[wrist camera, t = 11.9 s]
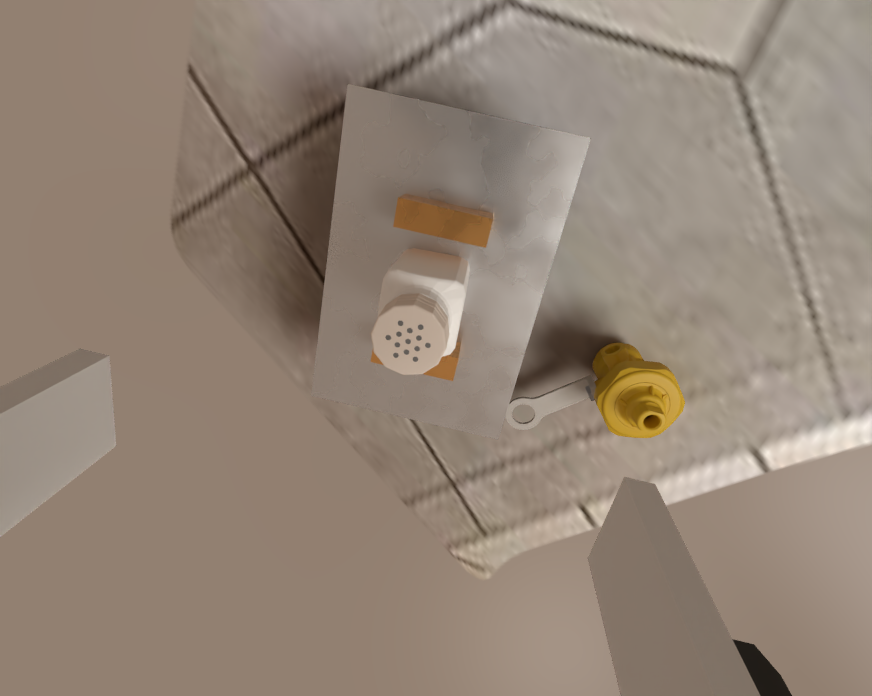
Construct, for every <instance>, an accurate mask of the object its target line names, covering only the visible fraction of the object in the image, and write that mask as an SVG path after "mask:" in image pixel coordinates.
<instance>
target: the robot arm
mask: <svg viewBox="0 0 872 696" xmlns="http://www.w3.org/2000/svg"><path fill="white" fill-rule="evenodd" d="M115 446H116V438H115V425H114V411H113V398H112V384H111V371H110V358H109V355H104V354H100V353H96V352H92V351H87V350H83V349H79V350H76V351H74V352H72V353H70V354H68V355H66V356H64V357H62V358H60V359H57V360H55V361H53V362H51V363H49V364H47V365H45V366H43V367H41V368H39V369H37V370H34V371H32V372H30V373H28V374H26V375H24V376H22V377H20V378H18V379H16V380H14V381H11V382H9V383H7V384H5V385H3V386H1V387H0V537H1V536H2V535H3V534H5V533H6V532H7V531H8V530H10V529H11V528H12V527H13V526H15V525H16V524H17V523H18V522H20V521H21V520H22V519H23V518H25V517H26V516H27V515H29V514H30V513H31V512H33V511H34V510H35V509H36V508H37V507H39V506H40V505H41V504H43V503H44V502H45V501H47V500H48V499H49V498H50V497H51V496H53V495H54V494H55V493H57V492H58V491H59V490H60V489H62V488H63V487H64V486H65V485H67V484H68V483H69V482H71V481H72V480H73V479H74V478H76V477H77V476H78V475H80V474H81V473H82V472H83V471H85V470H86V469H87V468H89V467H90V466H91V465H92V464H94V463H95V462H96V461H97V460H99V459H100V458H101V457H102V456H104V455H105V454H106V453H108V452H109V451H110V450H111V449H113V448H114V447H115ZM588 562H589V566H590V570H591V574H592V578H593V582H594V587H595V591H596V595H597V599H598V603H599V607H600V611H601V616H602V620H603V624H604V628H605V632H606V636H607V640H608V644H609V649H610V653H611V657H612V661H613V665H614V669H615V673H616V678H617V682H618V686H619V690H620V694H621V696H792V695H791V693H790V691H789V690H788V688H787V686H786V684H785V682H784V681H783V679H782V677H781V675H780V674H779V673H778V672H777V671H776V669H774V667H773V666H772V665H771V664H770V662H769V661H768V660H767V659H766V658H765V657H764V656H763V655H762V653H761V652H760V651H759V650H758V649H757V647H756V646H755V645H754V644H749V643H745V642H741V641H737V640H733V639H732V638H731V636H730V634H729V632H728V630H727V628H726V626H725V624H724V622H723V620H722V618H721V616H720V614H719V612H718V609H717V607H716V606H715V604H714V602H713V599H712V597H711V595H710V594H709V592H708V589H707V587H706V585H705V584H704V582H703V580H702V577H701V575H700V574H699V571H698V569H697V567H696V565H695V563H694V561H693V559H692V557H691V555H690V553H689V551H688V549H687V547H686V545H685V543H684V541H683V540H682V537H681V535H680V533H679V531H678V529H677V527H676V525H675V523H674V521H673V519H672V517H671V515H670V513H669V511H668V509H667V507H666V505H665V503H664V501H663V499H662V497H661V495H660V493H659V491H658V489H657V487H656V485H655V484H652V483H648V482H644V481H639V480H635V479H631V478H627V477H624V479H623V481H622V484H621V486H620V488H619V490H618V492H617V495H616V497H615V499H614V501H613V504H612V506H611V508H610V510H609V512H608V515H607V517H606V519H605V521H604V523H603V526H602V528H601V530H600V532H599V535H598V537H597V539H596V541H595V543H594V546H593V548H592V550H591V553H590V555H589V557H588Z"/></svg>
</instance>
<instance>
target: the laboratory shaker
mask: <svg viewBox="0 0 872 696" xmlns="http://www.w3.org/2000/svg"><path fill="white" fill-rule="evenodd" d="M590 139H591V138H588V137H584V136H580V135H575V134H571V133H566V132H562V131H557V130H553V129H548V128H544V127H539V126H535V125H530V124H526V123H521V122H517V121H512V120H508V119H503V118H499V117H494V116H490V115H486V114H481V113H477V112H472V111H468V110H463V109H459V108H454V107H450V106H445V105H441V104H436V103H432V102H427V101H423V100H418V99H414V98H409V97H405V96H401V95H396V94H392V93H387V92H383V91H378V90H374V89H369V88H365V87H360V86H356V85H351V84H347V92H346V101H345V110H344V118H343V127H342V135H341V144H340V153H339V161H338V170H337V178H336V187H335V196H334V204H333V213H332V221H331V230H330V239H329V247H328V256H327V265H326V273H325V282H324V290H323V299H322V308H321V316H320V325H319V333H318V342H317V351H316V359H315V368H314V377H313V385H312V394H311V396H314V397H319V398H323V399H327V400H331V401H336V402H340V403H344V404H348V405H353V406H357V407H361V408H365V409H370V410H374V411H378V412H382V413H387V414H391V415H395V416H400V417H404V418H408V419H412V420H417V421H421V422H425V423H429V424H434V425H438V426H442V427H446V428H451V429H455V430H459V431H463V432H468V433H472V434H476V435H480V436H485V437H489V438H493V439H497V440H498V439H499V436H500V432H501V429H502V426H503V423H504V419H505V416H506V413H507V410H508V406H509V403H510V400H511V397H512V393H513V390H514V387H515V384H516V380H517V377H518V374H519V371H520V367H521V364H522V361H523V358H524V354H525V351H526V348H527V345H528V341H529V338H530V335H531V332H532V328H533V325H534V322H535V318H536V315H537V312H538V309H539V305H540V302H541V299H542V296H543V292H544V289H545V286H546V283H547V279H548V276H549V273H550V270H551V266H552V263H553V260H554V257H555V253H556V250H557V247H558V244H559V240H560V237H561V234H562V231H563V227H564V224H565V221H566V218H567V214H568V211H569V208H570V205H571V201H572V198H573V195H574V192H575V188H576V185H577V182H578V179H579V175H580V172H581V169H582V166H583V162H584V159H585V156H586V153H587V149H588V146H589V143H590ZM411 248H416V249H421V250H427V251H432V252H437V253H442V254H448V255H453V256H458V257H462V258H464V259H465V260H467V261H468V262H469V266H470V273H469V279H468V285H467V291H466V297H465V302H464V307H463V312H462V317H461V322H460V327H459V332H458V337H457V342H456V347H455V349H454V350H453V352H452V353H451V354H450V355H447V356H443V357H442V358H441V360H440V362H439V364H438V365H436V366H435V367H433V368H431V369H430V370H428V371H427V372H425V373H423V374H414V375H402V374H400V373H398V372H395V371H393V370H391V369H389V368H387V367H385V366H384V365H383V363H382V362H381V361H380V359H379V358H378V357H377V356H376V354H375V353H374V352H373V345H372V339H371V331H372V329H373V327H374V324H375V322H376V320H377V317H378V308H379V301H380V294H381V288H382V282H383V278H384V276H385V275H386V273H387V271H388V270H389V269H390V268H391V266H392V265H393V264H394V263H395V262H396V261H397V259H398V258H399V257H400V256H401V255H402V254H403V252H404V251H405V250H407V249H411Z"/></svg>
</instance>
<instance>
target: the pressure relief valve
mask: <svg viewBox="0 0 872 696" xmlns="http://www.w3.org/2000/svg"><path fill="white" fill-rule="evenodd" d="M593 370H594V372H595V374H596V376H597V378H598V380H596V381H594V380H593V378H592V376H591V375H589V376H587V377H584V378H582V379H579V380H577V381H575V382H572V383H570V384H567V385H565V386H563V387H560V388H558V389H555V390H553V391H550V392H548V393H546V394H543V395H541V396H538V397H535V398H529V397H519V398H516V399H514V400H512V401H511V402H510V403H509V406H508V410H507V413H506V416H505V417H506V420H507V422H508V423H509V424H510V425H511V426H512V427H514V428H516V429H520V430H527V429H531V428H533V427H535V426H536V425H537V424H538V423H539V422H540V420H541V419H542V418H543V417H544V416H546V415H548V414H550V413H553V412H555V411H558V410H560V409H563V408H565V407H568V406H570V405H573V404H575V403H578V402H580V401H583V400H585V399H588V398H590V399H591V401H594V400H595V401H596V404H597V406H598V408H599V410H600V412H601V414H602V416H603V418H604V421H605V423H606V425H607V427H608V429H609V431H611V432H612V433H614V434H616V435H618V436H625V437H634V438H651V437H654V436H656V435H659V434H661V433H662V432H663V431H664V430H666V429H667V428H668V427H669V426H670V425H671V424H672V423H673V422H674V421H675V420H676V419H677V417H678V416H679V415H680V414H681V412H682V411H683V408H684V404H685V401H684V398H683V395H682V393H681V390H680V388H679V385H678V383H677V381H676V379H675V376H674V374H673V373H672V372H671V371H670V370H669V368H668V367H666V366H665V365H663V364H661V363H658V362H650V361H644V360H643V359H642V357H641V355H640V353H639V352H638V350H637V349H636V348H634V347H633V346H631V345H629V344H623V343H612V344H609V345H607V346H605V347H603V348H602V349H601V350H600V351H599V352H598V353H597V355H596V357H595V358H594V361H593ZM521 404H527V405H529V406H531V407H532V408H533V409H534V411H535V415H534V418H533V419H532V420H531V421H529V422H525V423H521V422H518V421H516V420H515V419H514V418H513V416H512V411H513V410H514V408H515V407H516V406H518V405H521Z"/></svg>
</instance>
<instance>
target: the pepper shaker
mask: <svg viewBox="0 0 872 696" xmlns="http://www.w3.org/2000/svg"><path fill="white" fill-rule="evenodd" d="M469 273H470V266H469V262H468V261H467V260H465V259H464V258H462V257H458V256H453V255H448V254H442V253H437V252H432V251H427V250H421V249H416V248H411V249H407V250H405V251H404V252H403V254H402V255H401V256H400V257H399V258H398V259H397V261H396V262H395V263H394V264H393V265H392V266H391V268H390V269H389V270H388V271H387V273H386V275H385V276H384V278H383V282H382V288H381V294H380V301H379V308H378V317H377V320H376V322H375V324H374V327H373V329H372V331H371V339H372V345H373V352H374V353H375V354H376V356H377V357H378V358H379V359H380V361H381V362H382V363H383V365H384V366H385V367H387V368H389V369H391V370H393V371H395V372H398V373H400V374H402V375H414V374H423V373H425V372H427V371H428V370H430V369H431V368H433V367H435V366H436V365H438V364H439V362H440V360H441V358H442V357H443V356H447V355H450V354H451V353H452V352H453V350H454V349H455V347H456V342H457V337H458V332H459V327H460V322H461V317H462V312H463V307H464V302H465V297H466V291H467V285H468V279H469Z"/></svg>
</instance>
